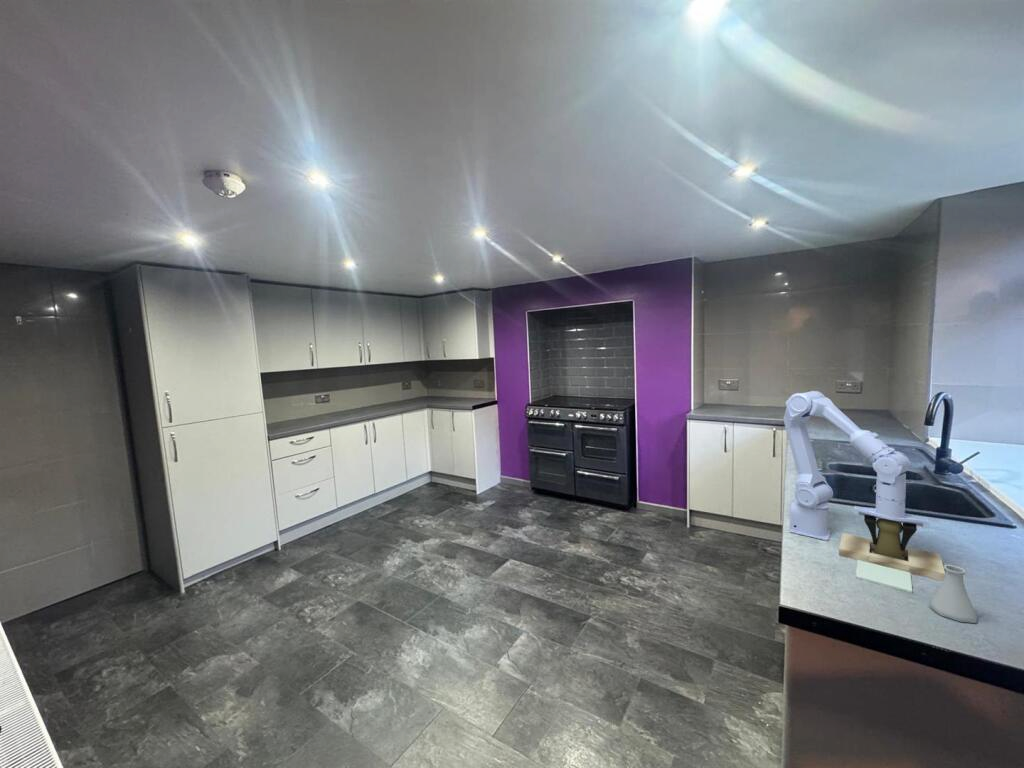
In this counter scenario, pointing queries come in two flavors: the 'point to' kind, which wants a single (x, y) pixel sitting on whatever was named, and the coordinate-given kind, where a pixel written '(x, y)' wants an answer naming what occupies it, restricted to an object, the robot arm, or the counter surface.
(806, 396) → the robot arm
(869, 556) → the socket board
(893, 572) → the rubber mat
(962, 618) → the flask
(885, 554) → the cork
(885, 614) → the counter surface
